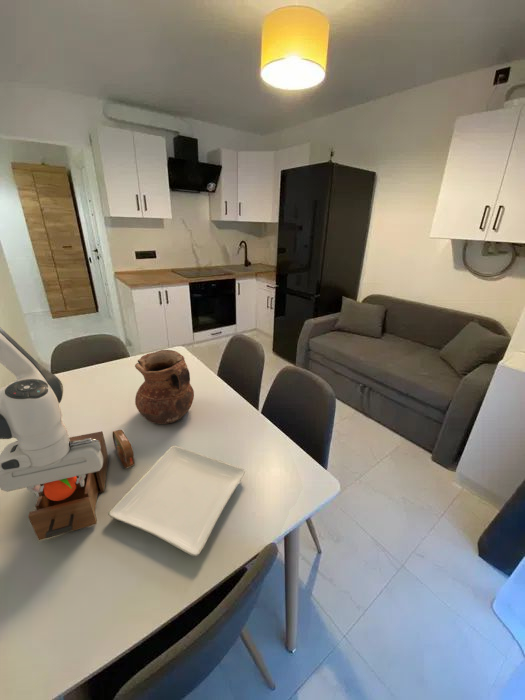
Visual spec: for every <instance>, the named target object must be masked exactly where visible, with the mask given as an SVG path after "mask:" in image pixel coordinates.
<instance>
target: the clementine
mask: <svg viewBox="0 0 525 700" xmlns="http://www.w3.org/2000/svg"><path fill="white" fill-rule="evenodd" d="M76 479H77V477H76V476H75V477H70V478H66V479H62V480H57V481H53V482H48V483H45V484H44V494H45V496H46V497H47V498H48V499H50V500H52V501H61V500H64V499H66V498H68V497H69V496H71V495H72V494H73V492H74V491H75V490H76V484H75V483H76Z"/></svg>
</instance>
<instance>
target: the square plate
mask: <svg viewBox="0 0 525 700" xmlns="http://www.w3.org/2000/svg"><path fill="white" fill-rule="evenodd" d="M245 473H246V470H245V469H244V468H241V467H239V466H236V465H233V464H231V463H227V462H225V461H221V460H218V459H216V458H212V457H210V456H207V455H205V454H204V455H203V454H201V453H198V452H195V451H192V450H189V449H187V448H185V447H184V448H183V447H181V446H177V445H172V446H170V447H169V448H168V449H167V450H166V451H165V452H164V453H163V454H162V455H161V457H160V458H158V460H157V461H155V463H154V464H152V466H150V468H149V469H148V470H147V471H146V472H145V473H144V474H143V475H142V476H141V477H140V478H139V479H138V481H136V483H135V484H134V485H132V487H130V488H129V490H127V492H126V493H125V494H123V496H122V497H121V498H120V499H119V500H118V501H117V502H116V504H115V505H113V506H112V508H111V509H109V511H108V513H107V515H108V516H109V517H110V518H112V519H115V520H116V521H120V522H121V523H125V524H126V525H129V526H132V527H135V528H136V529H139V530H142V531H144V532H146V533H148V534H151V535H153V536H155V537H156V538H158V539H160V540H162V541H164V542H166V543H168V544H170V545H171V546H173V547H174V548H177V549H178V550H180V551H182V552H184V553H186V554H188V555H189V556H192V557H196V556H199V555H200V553H201V552H202V551H203V549H204V548H205V546H206V544H207V541H208V540H209V537H210V536H211V533H212V531H213V530H214V528H215V526H216V524H217V522H218V520H219V518H220V516H221V515H222V513H223V510H224V509H225V507H226V506H227V504H228V502H229V501H230V499H231V497H232V495H233V494H234V492H235V490H236V489H237V487H238V486H239V484H240V483H241V481H242V479H243V477H244V476H245Z"/></svg>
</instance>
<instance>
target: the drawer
mask: <svg viewBox="0 0 525 700" xmlns="http://www.w3.org/2000/svg"><path fill="white" fill-rule="evenodd" d="M76 477H77V478H79V476H76ZM44 484H45V483H44ZM44 484H43V486H44ZM98 487H99V484H98V480H97V476H96V473H95V472H92V473H88V474H86V477H85V478H84V486H83V487H79V488H77V487H76V490H75V491H74V492H73V494H72V495H71V496H69V497H68V498H66V499H64V500H61V501H52V500H50V499H48V498H47V497H46V496H41V497H37V500H36V503H35V506H34V507H35V509H34V510H31V511H29V512H28V515H27V517H28V519H29V522H30V524H31V526H32V528H33V531H34V533H35V535H36V538H37V540H38V541H43V540H46V539H50V538H53V537H56V536H61V535H63V534H67V533H71V532H73V531H77V530H80V529H84V528H88V527H91V526H94V525H97V522H98V519H97V516H96V507H97V500H98V494H99V493H98Z"/></svg>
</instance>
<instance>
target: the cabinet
mask: <svg viewBox="0 0 525 700" xmlns="http://www.w3.org/2000/svg"><path fill="white" fill-rule="evenodd" d="M87 438H92V439H96V440H98V441H99V442H100V445H101V449H100V450H101V452H102V455H103V466H102V468H101V469H100V471H97V472H95V473H96V476H97V480H98V484H99V487H98V494H101V493H104V492H105V486H106V479H107V471H108V463H109V453H108V450H107V449H108V448H107V444H106V441H105V437H104V432H103V431H102V430H101V431H97V432H92V433H91V432H90V433H86V434H85V433H84V434H80V435H76V436H69V439H70V442H71V441H76V440H84V439H87ZM40 486H43V484H40Z"/></svg>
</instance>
